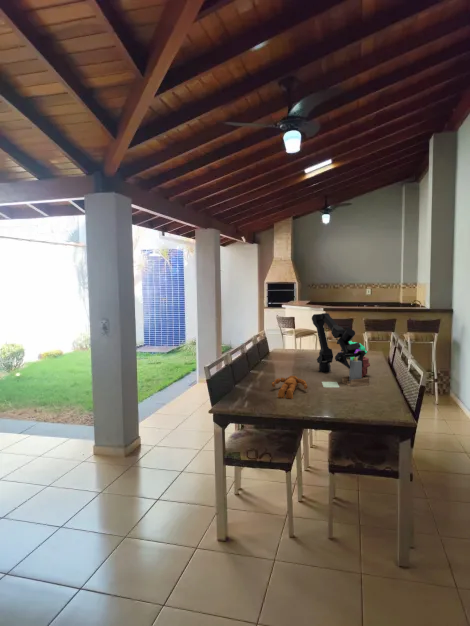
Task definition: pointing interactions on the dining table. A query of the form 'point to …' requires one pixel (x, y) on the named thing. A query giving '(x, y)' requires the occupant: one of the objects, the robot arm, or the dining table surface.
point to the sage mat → (330, 384)
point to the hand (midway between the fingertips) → (356, 367)
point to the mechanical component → (365, 366)
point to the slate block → (355, 369)
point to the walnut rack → (355, 381)
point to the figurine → (357, 349)
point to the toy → (288, 386)
